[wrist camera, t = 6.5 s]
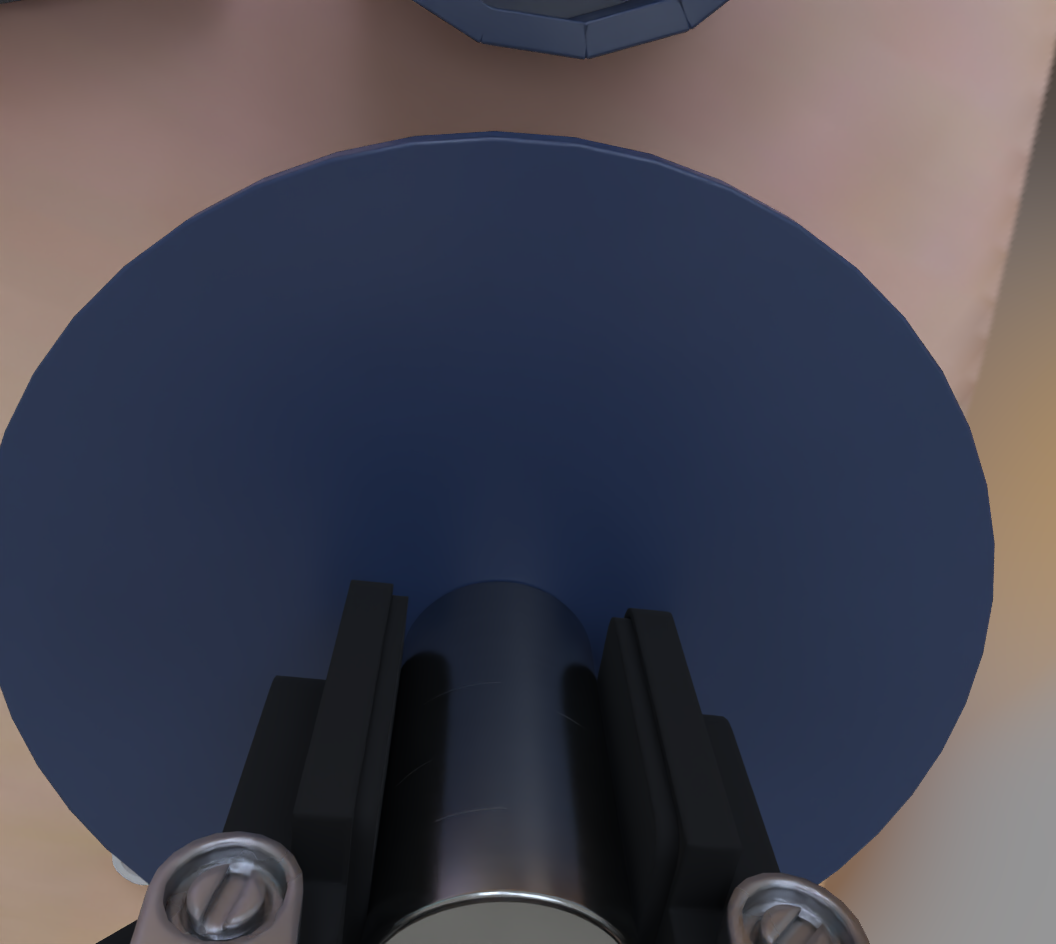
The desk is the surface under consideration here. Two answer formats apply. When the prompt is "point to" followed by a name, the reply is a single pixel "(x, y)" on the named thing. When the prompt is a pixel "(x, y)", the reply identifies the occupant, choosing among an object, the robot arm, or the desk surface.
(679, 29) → the pot
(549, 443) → the lid
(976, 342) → the desk surface
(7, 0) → the grey microphone
